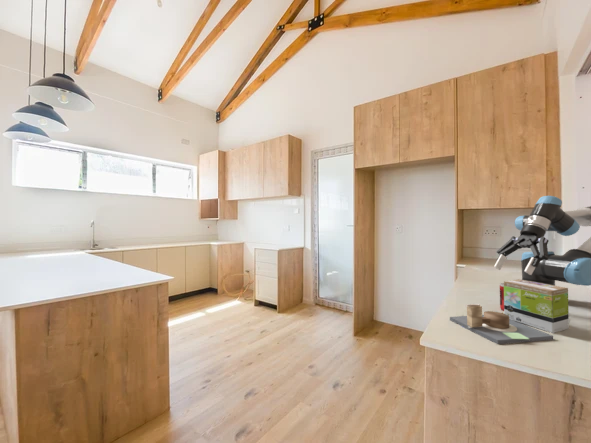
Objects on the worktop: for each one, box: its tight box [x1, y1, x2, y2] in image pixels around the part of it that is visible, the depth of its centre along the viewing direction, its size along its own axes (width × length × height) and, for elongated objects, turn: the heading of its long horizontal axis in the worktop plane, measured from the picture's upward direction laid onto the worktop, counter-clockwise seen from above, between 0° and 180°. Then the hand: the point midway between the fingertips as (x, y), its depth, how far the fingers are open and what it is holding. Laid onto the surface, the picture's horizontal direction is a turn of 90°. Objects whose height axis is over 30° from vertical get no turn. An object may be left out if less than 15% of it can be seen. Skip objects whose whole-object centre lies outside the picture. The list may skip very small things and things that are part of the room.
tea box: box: [503, 278, 570, 334], centre depth 94 cm, size 15×10×15 cm, turn 21°
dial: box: [465, 303, 509, 329], centre depth 89 cm, size 15×7×8 cm, turn 98°
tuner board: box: [449, 314, 554, 345], centre depth 89 cm, size 21×21×1 cm
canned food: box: [499, 282, 504, 312], centre depth 107 cm, size 8×8×11 cm
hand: (511, 270), depth 107 cm, fingers open, 13 cm apart
